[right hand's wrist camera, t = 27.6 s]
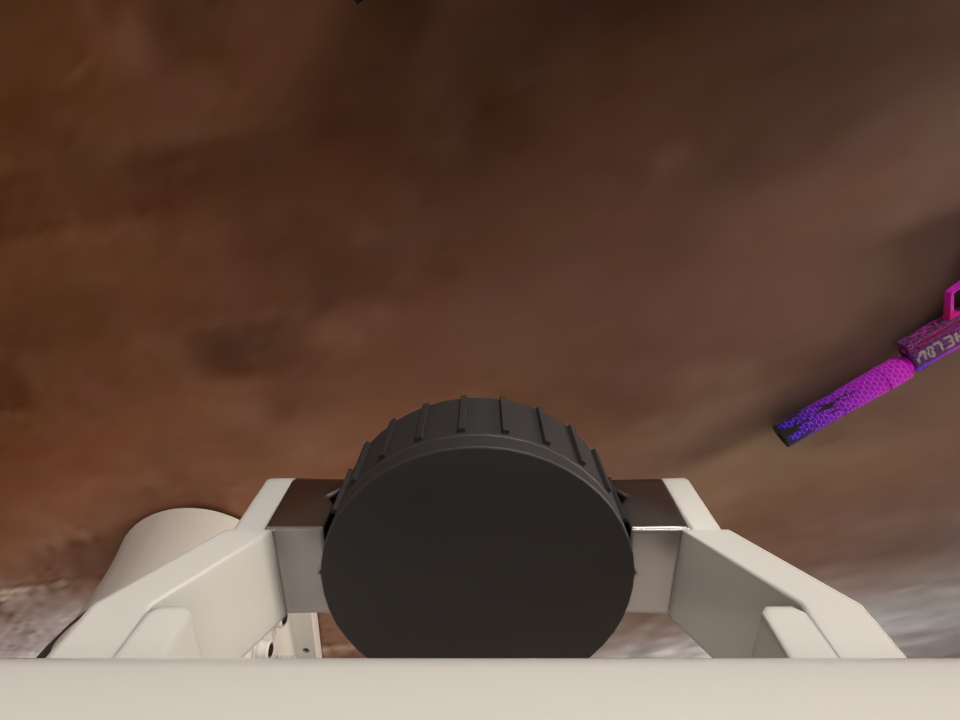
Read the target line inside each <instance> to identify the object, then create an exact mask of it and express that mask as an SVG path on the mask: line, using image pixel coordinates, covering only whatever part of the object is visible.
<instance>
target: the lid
mask: <svg viewBox="0 0 960 720" xmlns="http://www.w3.org/2000/svg"><path fill="white" fill-rule="evenodd" d="M331 513H332V514H335V516H334V518H333V521H332V523H331V526H330V528H329V531H328V534H327V537H326V540H325V542H324V546H323V552H322V558H321V580H322V586H323V592H324V596H325V599H326V602H327V605H328V608H329V611H330V613H331V615H332V617H333V619H334V620H335V622H336V624H337V626H338V627H339V629H340V630H341V631H342V633H343V634H344V636H345V637H346V638H347V639H348V640H349V641H350V643H351V644H352V645H353V646H354V647H355V648H356V649H357V650H358V651H359V652H360V653H362V654H363V655H364V656H365V657H366V658H590V657H591V656H592V655H593V654H594V653H595V652H596V651H597V650H598V649H599V648H601V647H602V646H603V645H604V643H605V642H606V641H607V640H608V639H609V637H610V636H611V635H612V634H613V633H614V631H615V629H616V628H617V626H618V625H619V623H620V621H621V620H622V618H623V616H624V613H625V611H626V609H627V607H628V604H629V601H630V597H631V593H632V589H633V582H634V572H635V570H634V555H633V551H632V546H631V542H630V538H629V536H628V533H627V531H626V528H625V526H624V524H625V523H628V520H627V517H626V514H625V512H624V509H623V507H622V505H621V502H620V500H619V497H618V495H617V492H616V490H615V487H614V485H613V482H612V480H611V478H610V477H609V478H608V477H607V475H606V472H605V470H604V467H603V465H602V462H601V460H600V457H599V455H598V452H597V451H596V450H595V449H593V450H592V451H591V450H590V449H589V447H588V446H587V445H586V444H585V443H584V441H583V440H582V439H581V438H580V437H579V436H578V435H577V434H576V431H575V428H574V427H573V426H572V425H569V426H568V427H567V426H566V425H564V424H563V423H561V422H560V421H558V420H557V419H555V418H553V417H551V416H549V415H547V414H545V413H544V411H543V408H541V407H537V409H534V408H531V407H529V406H526V405H523V404H520V403H515V402H511V401H506V397H500V399H490V398H467V395H464V396H461V399H456V400H449V401H444V402H440V403H437V404H433V405H429V403H426V404H423V407H422V409H419V410H417V411H414V412H412V413H410V414H408V415H406V416H404V417H403V418H401V419H399V420H397V421H396V420H395V418H394V419H392V420H391V421H390V422H389V425H388V428H386V429H385V430H384V431H382V432H381V433H380V434H379V435H378V436H377V437H376V438H375V439H374V440H373V441H372V442H371V443H370V442H368V441H367V442H366V443H365V444H364V446H363V449H362V451H361V454H360V456H359V459H358V461H357V464H356V466H355V468H354V469H353V470H352V469H349V470H348V472H347V474H346V477H345V479H344V482H343V484H342V486H341V489H340V491H339V493H338V496H337V498H336V500H335V503H334V505H333V508H332V510H331Z"/></svg>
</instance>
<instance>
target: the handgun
mask: <svg viewBox="0 0 960 720" xmlns="http://www.w3.org/2000/svg"><path fill="white" fill-rule="evenodd" d="M959 289H960V281H958V282H957V283H955V284H954V285H952V286H951V287H950V288H948V289H947V290H946V291H945V293H944V308H943V315H942V316H940V317H938V318H936V319H935V320H933V321H931V322H930V323H928V324H926V325H924V326H923V327H921V328H919V329H918V330H916V331H914V332H912V333H911V334H909V335H907V336H906V337H904V338H902V339H900V340H899V341H897V342H896V344H897V346H898V348H899V351H900V354H901V355H902V357H901V358H899V357H896V356H895V357H892V358H891V359H889V360H887V361H885V362H884V363H882V364H880V365H878V366H877V367H873V368H872V369H871V370H870V371H868V372H866V373H864V374H863V375H861V376H859V377H857V378H856V379H854V380H852V381H850V382H849V383H847V384H845V385H843V386H842V387H840V388H838V389H836V390H835V391H833V392H831V393H830V394H828V395H826V396H824V397H823V398H821V399H819V400H817V401H816V402H814V403H812V404H810V405H809V406H807V407H805V408H803V409H802V410H800V411H798V412H796V413H795V414H793V415H791V416H790V417H788V418H786V419H784V420H783V421H781V422H779V423H777V424H776V425H774V426H773V429H774V431H775V433H776V434H777V436H778V437H779V438H780V439H781V441H782V442H783V443H784V444H785V445H786V446H788V447H790V446H791V445H793V444H795V443H797V442H799V441H800V440H802V439H804V438H806V437H808V436H809V435H811V434H813V433H815V432H817V431H818V430H820V429H822V428H824V427H825V426H827V425H829V424H831V423H833V422H834V421H836V420H838V419H840V418H842V417H843V416H844V415H847V414H849V413H850V412H852V411H854V410H856V409H858V408H859V407H861V406H863V405H865V404H866V403H868V402H870V401H872V400H874V399H875V398H877V397H879V396H881V395H882V394H884V393H886V392H888V391H891V390H893V389H894V388H895V387H897V386H898V385H900V384H902V383H904V382H906V381H907V380H909V379H911V378H913V377H914V373H913V370H916V371H917V372H919V371H921V370H923V369H925V368H927V367H928V365H930V364H931V363H933V362H935V361H937V360H938V359H940V358H942V357H944V356H946V355H947V354H949V353H951V352H953V351H954V350H956V349H958V348H960V304H959V306H957V307H955V308H954V293H955V292H957V291H958V290H959Z"/></svg>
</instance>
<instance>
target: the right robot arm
mask: <svg viewBox="0 0 960 720" xmlns="http://www.w3.org/2000/svg"><path fill="white" fill-rule="evenodd" d="M343 482H344V479H304V478H297V479H295V478H271V479H269V480H267V481H266V482H265V483H264V485H263V486H262V488H261V489H260V491H259V492H258V494H257V495H256V497H255V498H254V500H253V501H252V503H251V504H250V506H249V507H248V509H247V510H246V512H245V513H244V515H243V516H242V518H241V519H240V520H239V519H236V518H234V517H232V516H229V515H226V514H223V513H220V512H216V511H212V510H207V509H200V508H176V509H170V510H165V511H161V512H158V513H155V514H153V515H150V516H148V517H146V518H144V519H143V520H141V521H140V522H138V523H137V524H136V525H135V526H134V527H133V528H132V529H131V530H130V531H129V532H128V533H127V535H126V536H125V538H124V539H123V541H122V544H121V546H120V548H119V550H118V552H117V554H116V556H115V558H114V560H113V562H112V564H111V565H110V567H109V569H108V571H107V572H106V574H105V576H104V577H103V579H102V580H101V582H100V583H99V585H98V586H97V587H96V589H95V591H94V593H93V594H92V596H91V597H90V599H89V600H88V602H87V603H86V604H85V606H84V607H83V609H82V610H81V612H80V613H79V615H78V616H77V618H76V619H75V620H74V621H73V622H72V623H70V624H69V625H68V626H67V627H66V628H65V629H64V630H63V631H62V632H61V633H60V634H59V635H58V636H57V637H56V638H55V639H54V640H52V641H51V642H50V643H49V644H48V645H47V646H46V647H45V649H44V650H43V651H42V652H41V653H40V654H39V655H38V656H37V658H0V720H960V658H907V657H906V656H905V655H904V654H903V653H902V652H901V650H900V649H899V648H898V647H897V646H896V645H895V643H894V642H893V641H892V640H891V639H890V637H889V636H888V635H887V634H886V633H885V632H884V630H883V629H882V628H881V627H880V626H879V625H878V623H877V622H876V621H875V620H874V619H873V618H872V616H871V615H870V614H869V613H868V612H867V611H866V609H865V608H864V607H863V606H862V605H861V604H859V603H857V602H856V601H854V600H852V599H850V598H849V597H847V596H845V595H843V594H842V593H840V592H838V591H836V590H834V589H833V588H831V587H829V586H827V585H826V584H824V583H822V582H820V581H819V580H817V579H815V578H813V577H811V576H810V575H808V574H806V573H804V572H803V571H801V570H799V569H797V568H796V567H794V566H792V565H790V564H789V563H787V562H785V561H783V560H781V559H780V558H778V557H776V556H774V555H773V554H771V553H769V552H767V551H766V550H764V549H762V548H760V547H759V546H757V545H755V544H753V543H751V542H750V541H748V540H746V539H744V538H743V537H741V536H739V535H737V534H736V533H734V532H732V531H730V530H721V529H720V527H719V526H718V524H717V523H716V521H715V520H714V518H713V517H712V515H711V514H710V512H709V511H708V509H707V508H706V506H705V505H704V503H703V502H702V500H701V499H700V497H699V496H698V494H697V493H696V491H695V490H694V488H693V487H692V485H691V484H690V482H689V481H688V480H687V479H685V478H666V479H639V480H612V482H613V485H614V487H615V490H616V492H617V495H618V497H619V500H620V502H621V505H622V507H623V509H624V512H625V514H626V517H627V520H628V523H625V524H624V526H625V528H626V531H627V533H628V536H629V538H630V542H631V546H632V551H633V555H634V570H635V572H634V582H633V589H632V593H631V597H630V601H629V604H628V607H627V609H626V611H625V612H637V613H669V616H670V617H671V618H672V619H673V620H674V621H675V622H676V623H677V624H678V625H679V626H680V627H681V628H682V629H683V630H684V631H685V632H686V633H687V634H688V635H689V636H690V637H691V638H692V639H693V640H694V641H695V642H696V643H697V644H699V645H700V646H701V647H702V648H703V649H704V650H705V651H706V652H707V653H708V654H709V655H710V656H711V657H712V658H322V652H321V643H320V634H319V625H318V617H317V612H330V611H329V608H328V605H327V602H326V599H325V596H324V592H323V586H322V580H321V558H322V552H323V546H324V542H325V540H326V537H327V534H328V531H329V528H330V526H331V523H332V521H333V518H334V516H335V514H332V513H331V510H332V508H333V505H334V503H335V500H336V498H337V496H338V493H339V491H340V489H341V486H342V484H343Z"/></svg>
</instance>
